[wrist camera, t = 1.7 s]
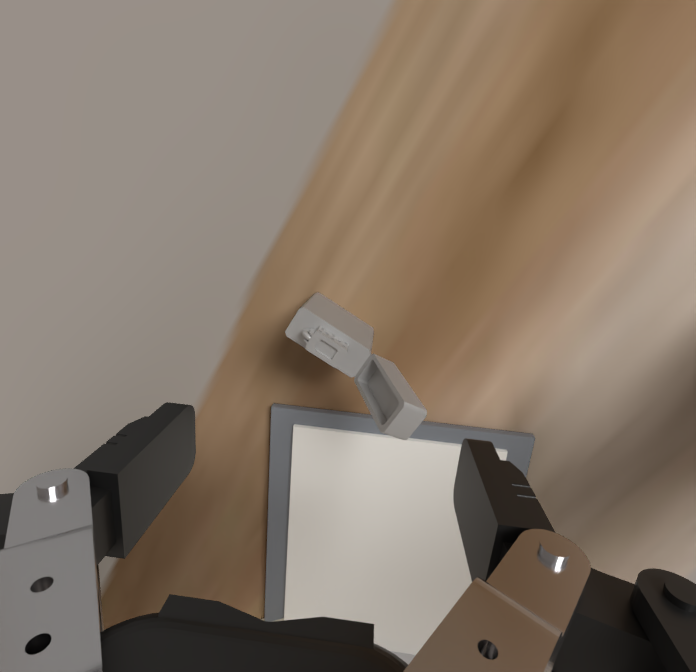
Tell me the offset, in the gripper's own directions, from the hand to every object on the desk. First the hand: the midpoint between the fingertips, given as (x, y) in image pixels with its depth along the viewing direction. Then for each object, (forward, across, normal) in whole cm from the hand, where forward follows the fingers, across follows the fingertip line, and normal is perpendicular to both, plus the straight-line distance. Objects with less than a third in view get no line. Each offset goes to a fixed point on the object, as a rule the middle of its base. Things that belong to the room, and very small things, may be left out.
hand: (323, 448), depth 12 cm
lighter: (+13, 0, 0) cm, 13 cm away
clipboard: (+13, -3, +15) cm, 20 cm away
